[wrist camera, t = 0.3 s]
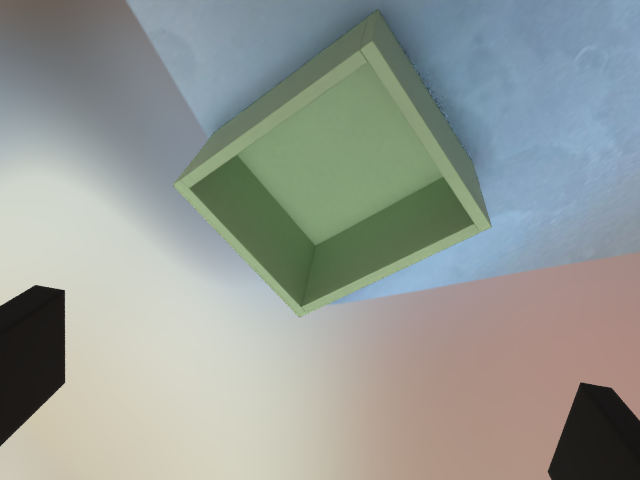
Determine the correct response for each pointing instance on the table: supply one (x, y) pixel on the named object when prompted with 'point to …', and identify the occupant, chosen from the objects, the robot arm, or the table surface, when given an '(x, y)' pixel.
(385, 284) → the table surface
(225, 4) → the table surface
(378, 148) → the waste bin
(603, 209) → the table surface
